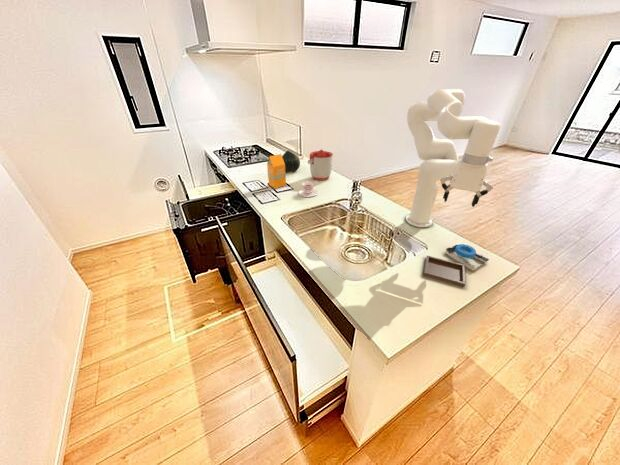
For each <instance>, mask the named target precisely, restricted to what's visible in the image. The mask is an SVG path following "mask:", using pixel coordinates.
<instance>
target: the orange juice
mask: <svg viewBox="0 0 620 465" xmlns="http://www.w3.org/2000/svg"><path fill="white" fill-rule="evenodd" d="M282 156H283V154H282V153H279V154H274V155H270V156H269V158H268V160H267V163H266V166H267V168H266V169H267V176H268V177H267V178H268V186H270V187H271V188H273V189H278V188H279V189H280V188H283V187H286V186H287V175H286V173H287V172H285V163H284V160H283V158H282Z"/></svg>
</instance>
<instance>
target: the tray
mask: <svg viewBox="0 0 620 465" xmlns="http://www.w3.org/2000/svg"><path fill="white" fill-rule="evenodd" d="M465 267H466V266H465V265H463V264H461V263H460V262H454V261H450V260H446V259H442V258H438V257H435V256H431V255H426V258H425V264H424V269H423V276H424V277H427V278H431V279H434V280H437V281H442V282H445V283H448V284H452V285H455V286H459V287H461V288H462V287H463V288H464V287H465V286H466V268H465Z"/></svg>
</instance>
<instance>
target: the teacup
mask: <svg viewBox="0 0 620 465" xmlns="http://www.w3.org/2000/svg"><path fill="white" fill-rule="evenodd" d="M301 186H302V188H303V189H300V190H299V191H298V192H297V194H298V196H300V197H304V198H313V197H315V196H317V195H318V191H317V190H316V189H314V187H315V183H314V182H313V181H303V182H302V183H301Z"/></svg>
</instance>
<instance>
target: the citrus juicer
mask: <svg viewBox="0 0 620 465" xmlns="http://www.w3.org/2000/svg"><path fill="white" fill-rule="evenodd" d="M333 156H334V154H333V152H330V151H327V150H323V149H320V150H315V151H311V152H310V153H309V159H308V160H307V164H309V169H310V174H311V178H312V179H313V180H315V181H317V182H319V181H326V180H329V179H330V177H331V174H332V170H333Z"/></svg>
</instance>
